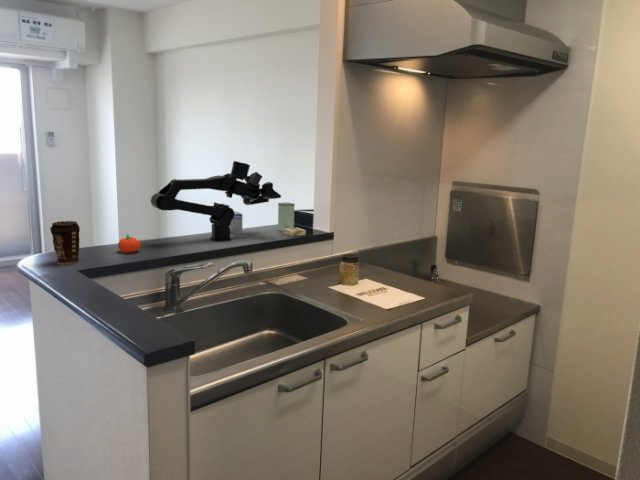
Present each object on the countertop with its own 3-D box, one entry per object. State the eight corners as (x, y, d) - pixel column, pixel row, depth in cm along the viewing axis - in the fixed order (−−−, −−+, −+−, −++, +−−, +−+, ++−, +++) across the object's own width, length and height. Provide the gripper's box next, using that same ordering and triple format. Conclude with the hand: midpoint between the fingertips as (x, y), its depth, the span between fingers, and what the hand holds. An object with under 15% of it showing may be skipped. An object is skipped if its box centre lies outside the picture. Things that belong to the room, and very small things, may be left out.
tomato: (126, 256, 181) (123, 239, 179) (115, 252, 186) (112, 235, 184) (145, 251, 185) (142, 234, 184) (134, 247, 191) (131, 230, 189)
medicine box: (227, 230, 230) (227, 211, 228) (237, 230, 232) (237, 211, 230) (232, 234, 223) (232, 214, 221) (242, 233, 224) (242, 213, 223)
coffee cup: (62, 258, 173) (59, 219, 171) (86, 259, 173) (84, 220, 171) (47, 264, 165) (44, 224, 162) (73, 265, 165) (71, 225, 162)
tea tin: (285, 232, 231) (285, 204, 228) (277, 230, 234) (278, 203, 232) (294, 230, 234) (294, 203, 232) (286, 229, 238) (287, 202, 235)
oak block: (291, 237, 222) (291, 231, 221) (283, 234, 227) (283, 228, 227) (305, 235, 226) (305, 230, 225) (297, 233, 231) (297, 227, 231)
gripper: (257, 165, 207) (289, 176, 216) (233, 175, 221) (264, 185, 231) (254, 192, 205) (286, 201, 214) (230, 200, 219) (261, 209, 228)
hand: (274, 198), depth 222 cm, fingers open, 9 cm apart
